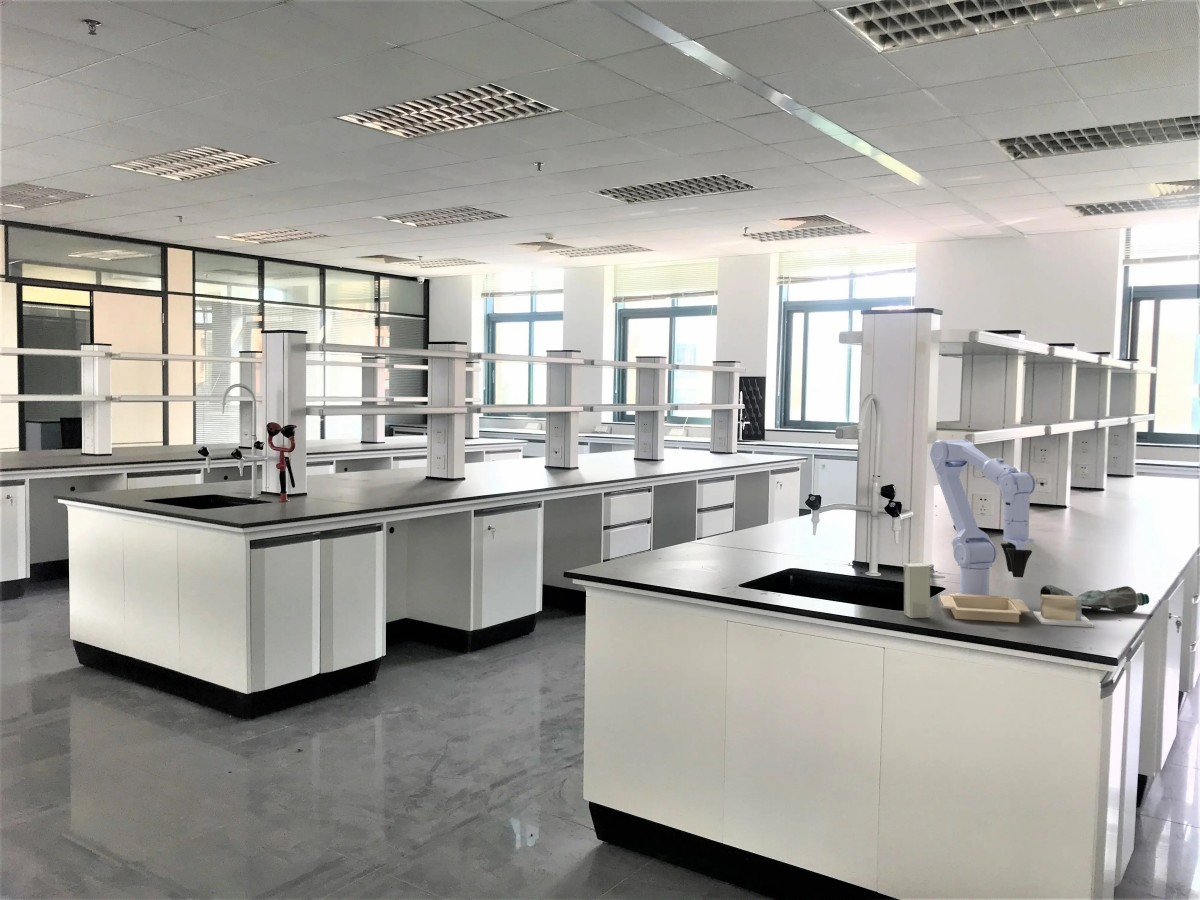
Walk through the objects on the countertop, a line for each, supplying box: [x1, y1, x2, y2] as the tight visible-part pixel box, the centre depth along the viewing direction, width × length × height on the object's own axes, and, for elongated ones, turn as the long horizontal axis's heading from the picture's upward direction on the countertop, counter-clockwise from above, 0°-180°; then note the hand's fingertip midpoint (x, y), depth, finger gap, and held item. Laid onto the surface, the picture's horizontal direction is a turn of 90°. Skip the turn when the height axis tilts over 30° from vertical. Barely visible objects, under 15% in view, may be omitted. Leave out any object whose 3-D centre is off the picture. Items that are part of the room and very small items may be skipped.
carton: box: [939, 593, 1031, 623], centre depth 220 cm, size 19×19×3 cm
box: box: [903, 562, 931, 619], centre depth 218 cm, size 5×4×13 cm
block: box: [1040, 594, 1083, 621], centre depth 214 cm, size 4×8×5 cm, turn 74°
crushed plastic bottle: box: [1040, 584, 1150, 614], centre depth 222 cm, size 13×7×25 cm
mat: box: [1032, 610, 1095, 628], centre depth 214 cm, size 11×11×1 cm
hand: (1015, 574), depth 223 cm, fingers open, 7 cm apart
